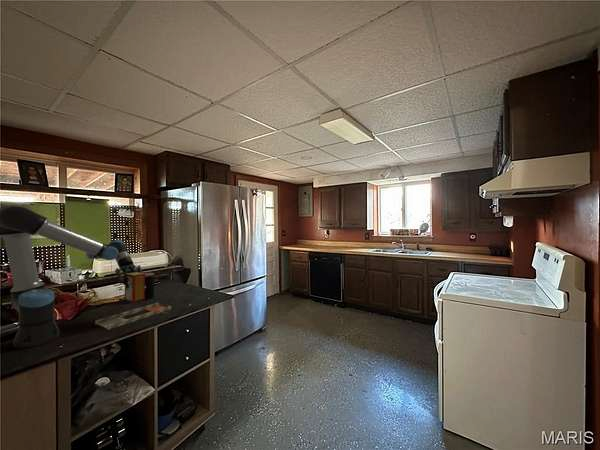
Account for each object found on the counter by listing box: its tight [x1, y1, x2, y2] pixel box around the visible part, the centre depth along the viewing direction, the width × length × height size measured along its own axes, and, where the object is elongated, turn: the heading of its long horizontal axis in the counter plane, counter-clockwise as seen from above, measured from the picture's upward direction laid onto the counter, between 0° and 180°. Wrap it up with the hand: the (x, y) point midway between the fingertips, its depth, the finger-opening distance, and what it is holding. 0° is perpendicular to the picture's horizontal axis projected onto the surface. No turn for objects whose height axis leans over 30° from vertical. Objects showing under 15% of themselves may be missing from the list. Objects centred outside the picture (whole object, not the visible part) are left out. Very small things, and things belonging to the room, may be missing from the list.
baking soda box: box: [124, 271, 146, 303], centre depth 146 cm, size 10×6×16 cm
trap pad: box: [145, 304, 166, 312], centre depth 158 cm, size 9×11×1 cm
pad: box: [97, 317, 126, 329], centre depth 137 cm, size 11×11×1 cm
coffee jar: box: [144, 272, 155, 301], centre depth 182 cm, size 11×11×18 cm
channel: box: [94, 302, 172, 331], centre depth 147 cm, size 35×14×2 cm, turn 151°
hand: (138, 290), depth 145 cm, fingers closed on baking soda box, 6 cm apart
